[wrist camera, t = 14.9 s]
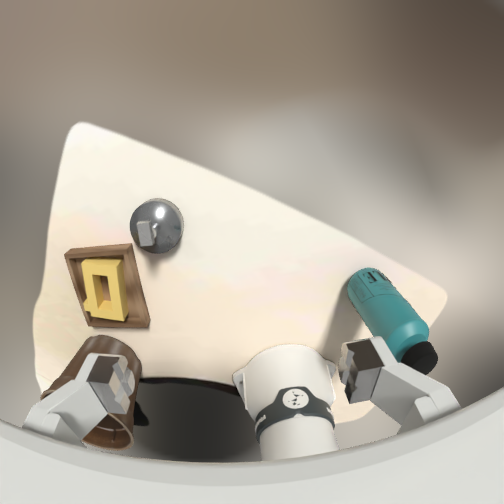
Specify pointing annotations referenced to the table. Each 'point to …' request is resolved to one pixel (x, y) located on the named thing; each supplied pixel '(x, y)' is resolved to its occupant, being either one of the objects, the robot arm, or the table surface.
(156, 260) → the table surface
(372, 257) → the table surface
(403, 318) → the beverage bottle
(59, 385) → the plant pot
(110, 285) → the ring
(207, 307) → the table surface
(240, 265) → the table surface
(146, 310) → the tray
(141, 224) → the silver knob
